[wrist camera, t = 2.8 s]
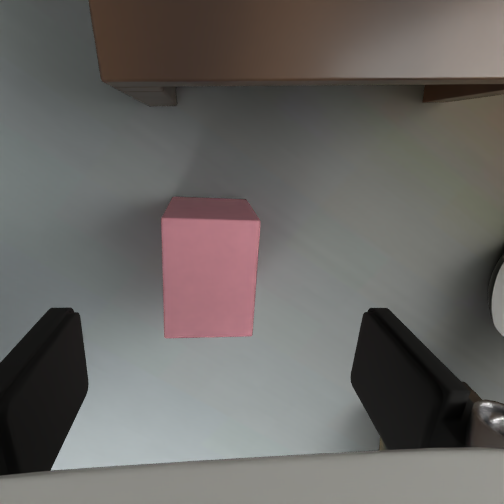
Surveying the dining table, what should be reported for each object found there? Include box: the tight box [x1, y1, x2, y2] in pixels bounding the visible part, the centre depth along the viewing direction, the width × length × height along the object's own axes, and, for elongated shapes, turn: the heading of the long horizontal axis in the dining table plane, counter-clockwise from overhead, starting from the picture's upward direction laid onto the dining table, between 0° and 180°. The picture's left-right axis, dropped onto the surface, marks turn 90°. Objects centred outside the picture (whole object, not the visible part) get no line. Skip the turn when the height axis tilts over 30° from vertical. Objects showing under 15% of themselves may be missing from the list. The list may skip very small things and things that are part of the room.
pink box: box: [161, 197, 261, 338], centre depth 19 cm, size 5×6×6 cm
